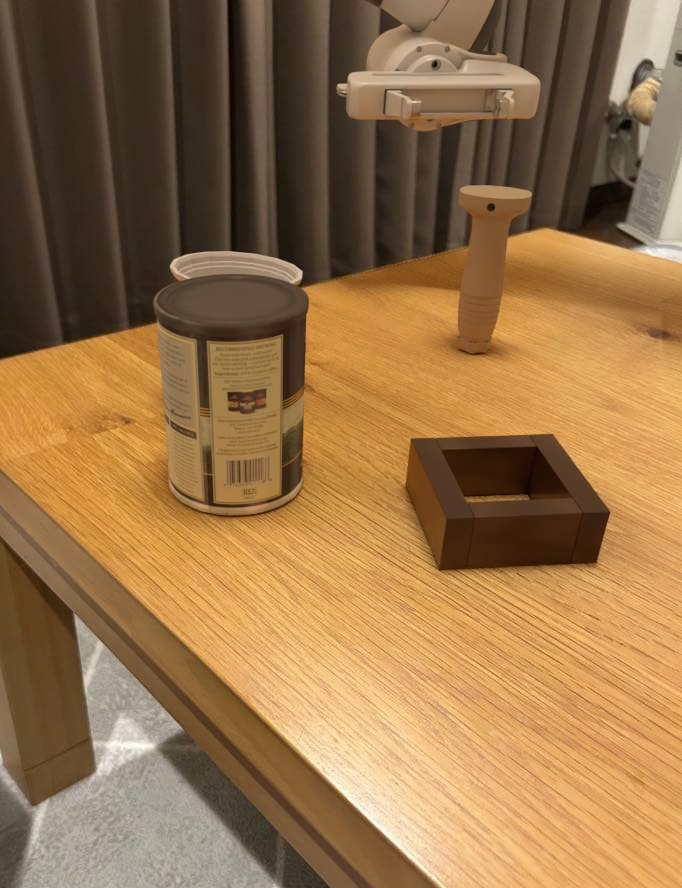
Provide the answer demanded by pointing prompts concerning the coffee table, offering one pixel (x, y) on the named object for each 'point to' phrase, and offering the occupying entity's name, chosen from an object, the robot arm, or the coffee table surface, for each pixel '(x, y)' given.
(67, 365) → the coffee table surface
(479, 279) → the handle
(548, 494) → the stand
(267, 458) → the coffee can
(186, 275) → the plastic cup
